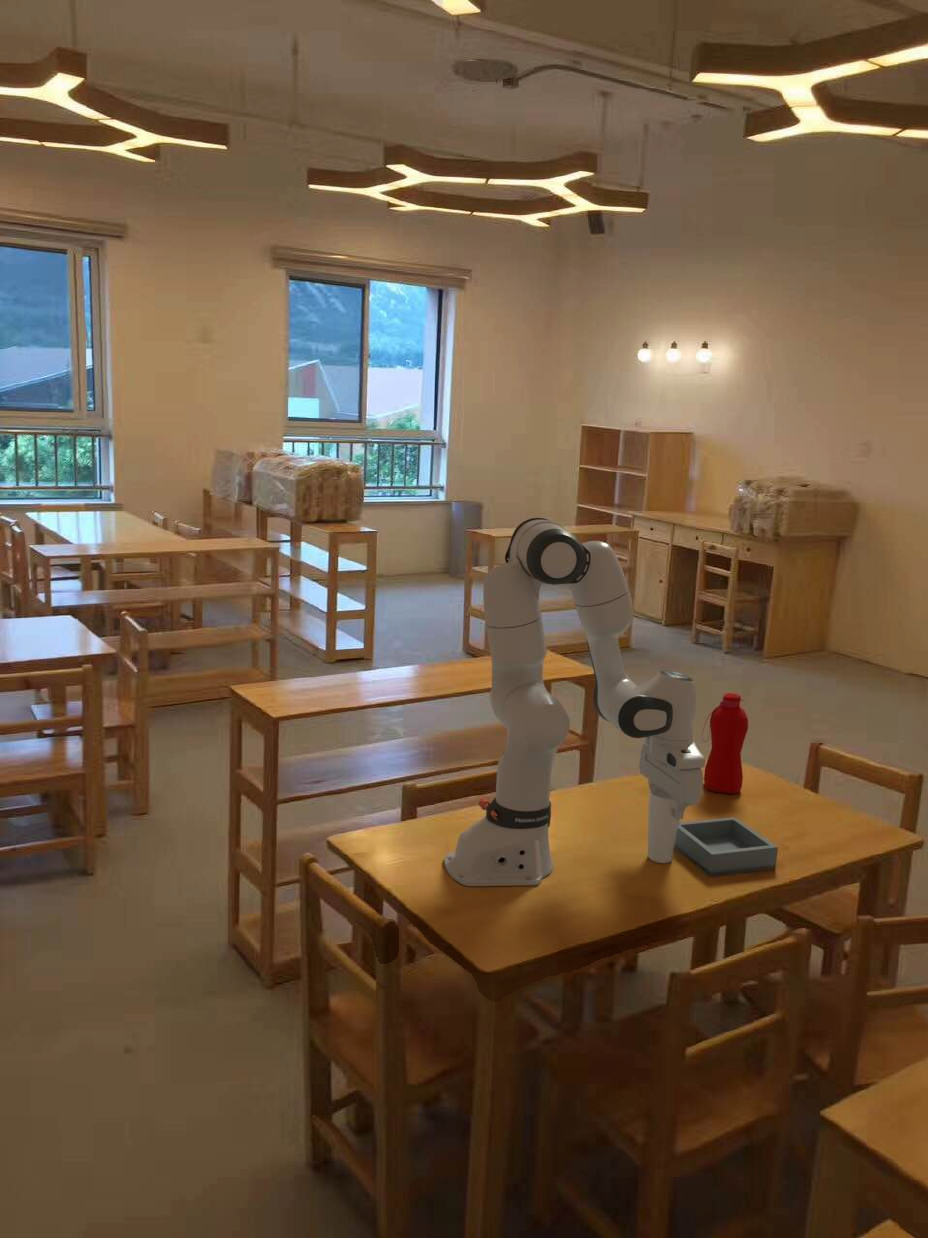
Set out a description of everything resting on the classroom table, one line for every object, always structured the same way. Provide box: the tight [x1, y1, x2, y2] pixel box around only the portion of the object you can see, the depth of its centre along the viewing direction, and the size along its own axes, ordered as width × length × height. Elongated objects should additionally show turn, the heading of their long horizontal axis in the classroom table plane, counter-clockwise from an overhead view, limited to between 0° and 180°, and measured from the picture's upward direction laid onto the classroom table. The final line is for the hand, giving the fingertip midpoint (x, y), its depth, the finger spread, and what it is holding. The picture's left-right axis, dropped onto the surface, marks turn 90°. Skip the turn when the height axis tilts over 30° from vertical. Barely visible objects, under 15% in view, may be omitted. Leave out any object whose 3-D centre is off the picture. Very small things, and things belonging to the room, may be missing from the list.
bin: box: [674, 816, 779, 878], centre depth 217 cm, size 16×16×5 cm
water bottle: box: [701, 692, 749, 795], centre depth 256 cm, size 9×11×25 cm
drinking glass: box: [647, 788, 681, 864], centre depth 214 cm, size 7×7×15 cm
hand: (666, 809), depth 213 cm, fingers open, 8 cm apart
